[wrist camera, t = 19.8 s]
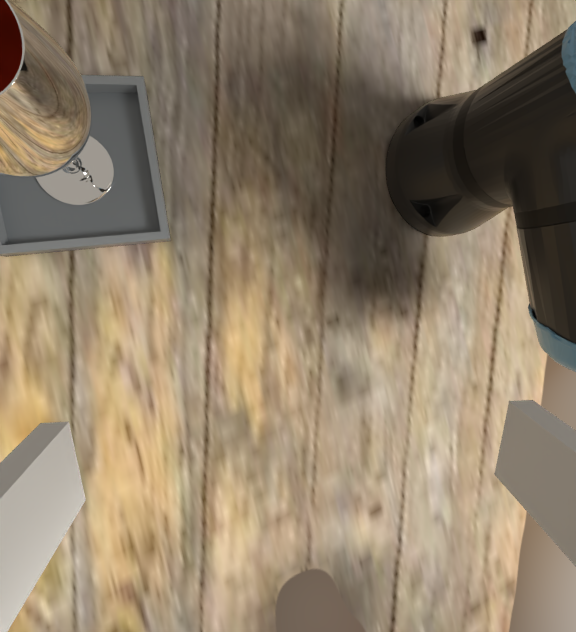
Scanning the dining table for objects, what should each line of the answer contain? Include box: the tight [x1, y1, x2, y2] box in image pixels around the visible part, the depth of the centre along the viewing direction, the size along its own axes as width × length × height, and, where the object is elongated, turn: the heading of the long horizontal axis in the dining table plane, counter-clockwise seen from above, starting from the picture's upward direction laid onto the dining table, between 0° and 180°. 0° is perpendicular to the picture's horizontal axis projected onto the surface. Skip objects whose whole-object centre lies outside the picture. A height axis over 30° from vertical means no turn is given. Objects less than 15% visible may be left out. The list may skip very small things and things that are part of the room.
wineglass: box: [0, 0, 114, 205], centre depth 23 cm, size 8×8×18 cm
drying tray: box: [0, 75, 171, 257], centre depth 31 cm, size 14×14×2 cm
